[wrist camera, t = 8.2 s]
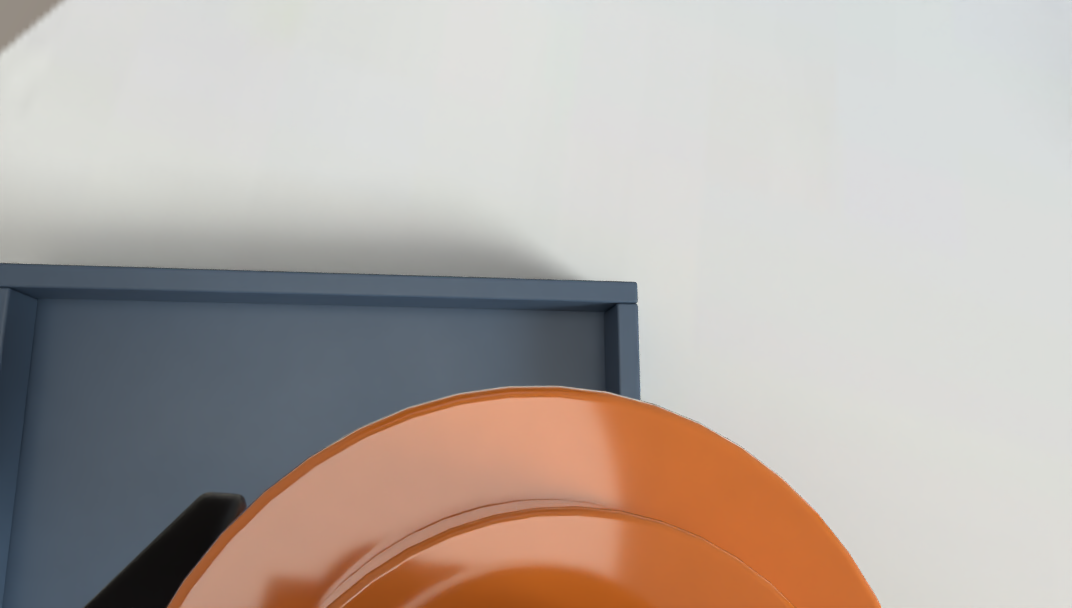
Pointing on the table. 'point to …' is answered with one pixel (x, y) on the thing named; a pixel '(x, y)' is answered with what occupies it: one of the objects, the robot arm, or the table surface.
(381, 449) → the orange bottle
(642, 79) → the table surface
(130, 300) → the blue rectangular tray
